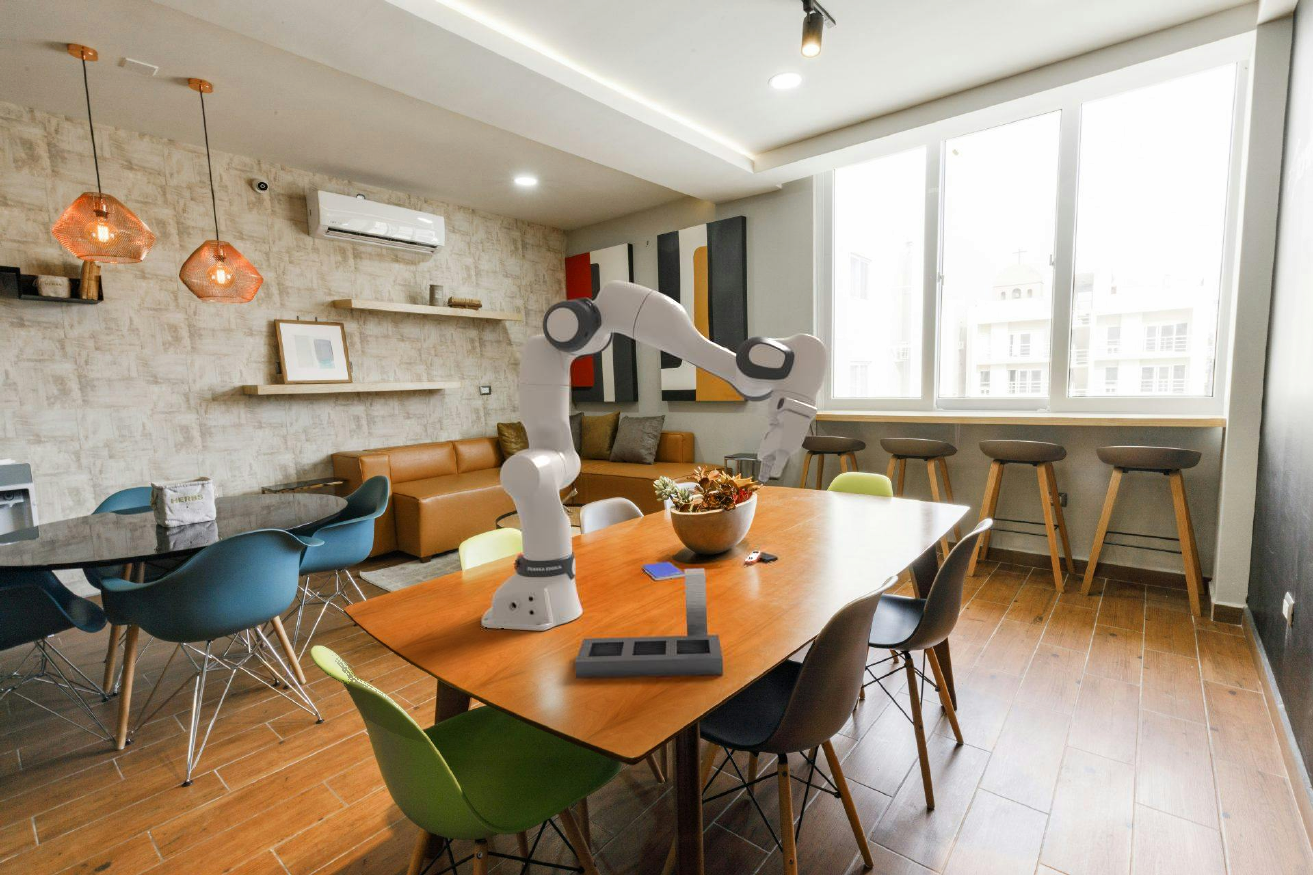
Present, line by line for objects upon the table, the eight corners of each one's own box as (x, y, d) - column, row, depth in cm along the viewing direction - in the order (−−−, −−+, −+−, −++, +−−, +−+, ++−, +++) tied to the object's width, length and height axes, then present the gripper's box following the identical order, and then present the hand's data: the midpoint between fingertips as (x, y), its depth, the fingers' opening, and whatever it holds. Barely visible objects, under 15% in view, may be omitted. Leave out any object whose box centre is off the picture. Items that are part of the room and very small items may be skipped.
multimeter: (735, 576, 159) (735, 564, 159) (712, 566, 170) (711, 554, 170) (788, 566, 167) (788, 554, 167) (762, 556, 178) (762, 545, 178)
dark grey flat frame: (575, 678, 104) (575, 661, 104) (584, 653, 114) (583, 638, 114) (723, 674, 103) (722, 658, 103) (719, 649, 113) (718, 634, 113)
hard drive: (684, 572, 160) (668, 561, 172) (656, 576, 157) (641, 565, 169) (684, 578, 160) (668, 566, 172) (656, 582, 157) (642, 570, 169)
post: (687, 644, 117) (684, 575, 116) (687, 636, 121) (684, 568, 120) (707, 643, 116) (705, 574, 115) (706, 635, 120) (704, 568, 119)
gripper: (761, 417, 128) (742, 477, 125) (788, 396, 107) (765, 467, 105) (789, 427, 128) (770, 487, 125) (821, 407, 107) (799, 479, 105)
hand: (768, 478), depth 115 cm, fingers open, 8 cm apart
